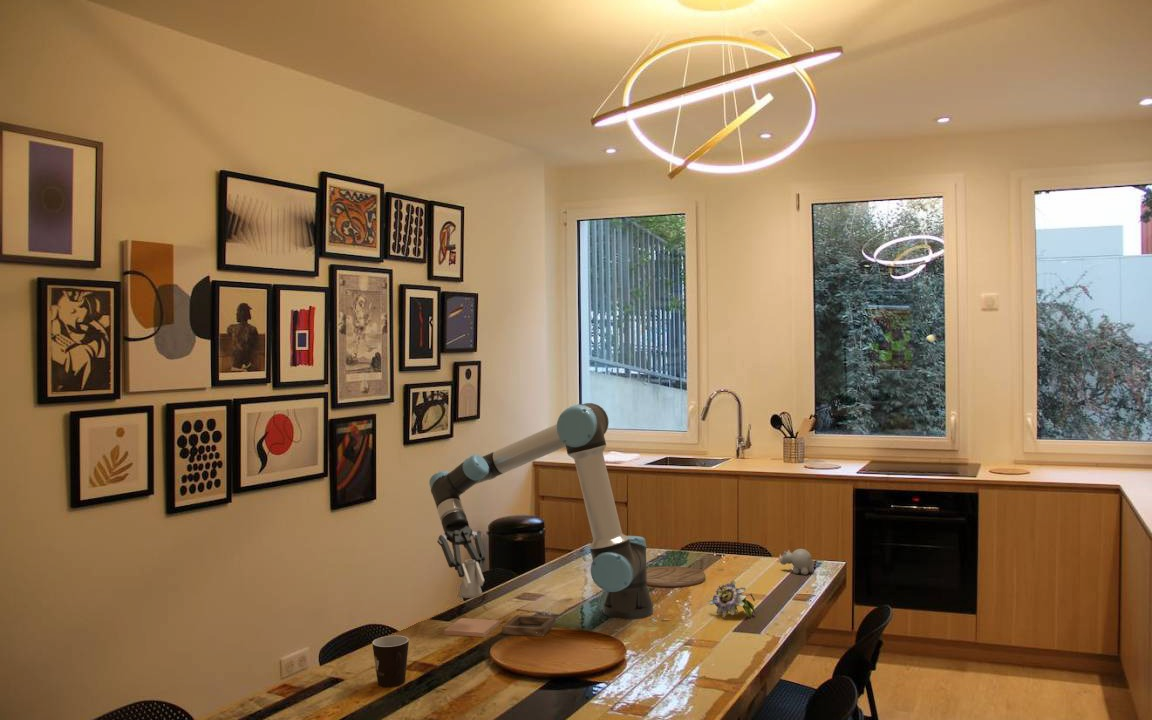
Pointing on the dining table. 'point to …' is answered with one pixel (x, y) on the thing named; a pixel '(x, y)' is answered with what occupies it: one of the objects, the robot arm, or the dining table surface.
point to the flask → (474, 587)
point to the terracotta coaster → (471, 627)
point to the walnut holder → (530, 631)
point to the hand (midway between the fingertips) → (475, 584)
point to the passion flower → (731, 600)
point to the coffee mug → (390, 660)
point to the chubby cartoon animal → (798, 561)
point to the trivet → (673, 577)
